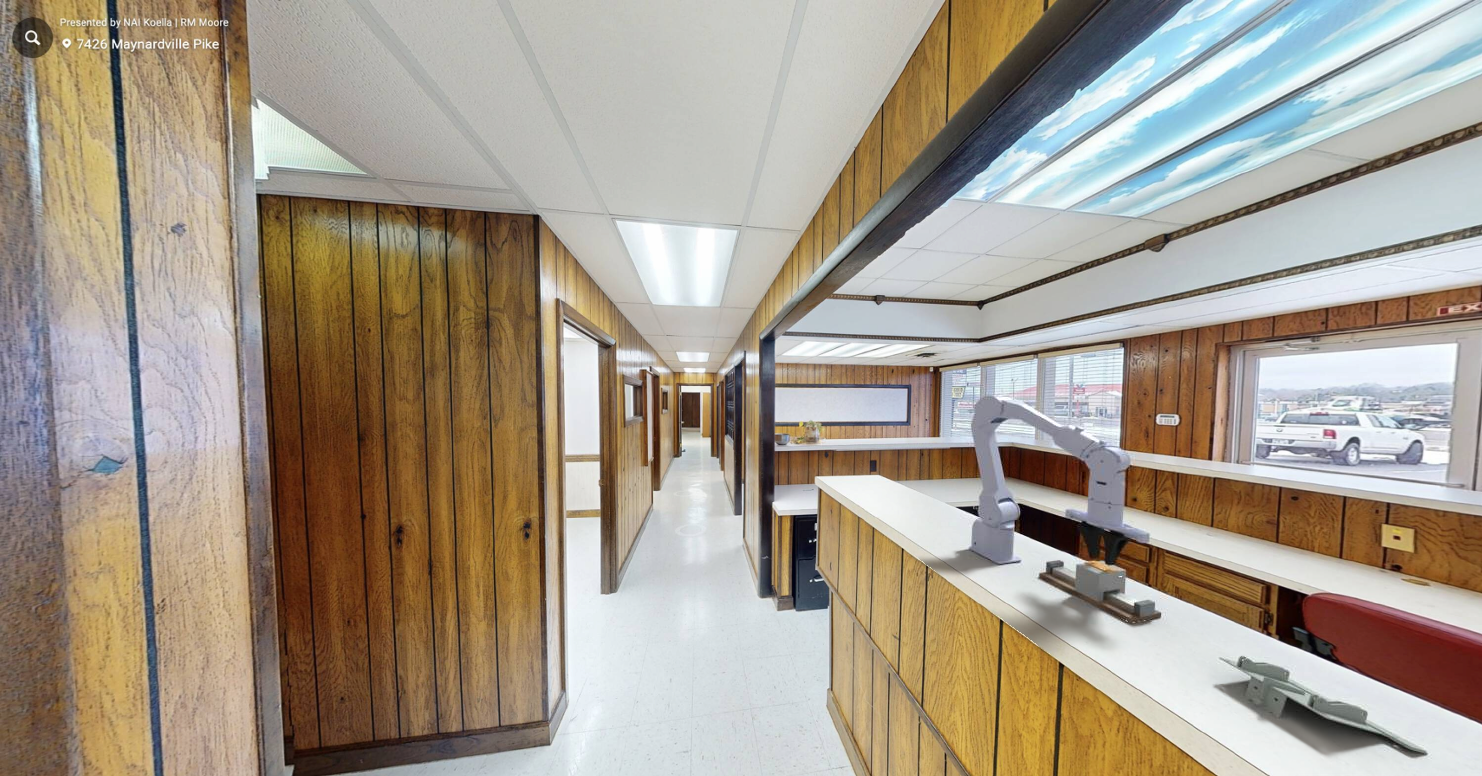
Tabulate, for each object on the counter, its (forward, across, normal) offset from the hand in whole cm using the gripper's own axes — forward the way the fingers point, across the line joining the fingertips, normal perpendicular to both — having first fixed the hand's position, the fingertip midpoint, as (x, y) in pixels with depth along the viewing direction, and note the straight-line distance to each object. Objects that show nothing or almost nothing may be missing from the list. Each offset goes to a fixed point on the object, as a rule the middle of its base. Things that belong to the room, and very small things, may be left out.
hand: (1102, 561), depth 84 cm
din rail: (+8, -1, 0) cm, 8 cm away
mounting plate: (+8, -1, 0) cm, 8 cm away
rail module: (+7, 0, 0) cm, 7 cm away
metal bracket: (+9, +28, -3) cm, 29 cm away
